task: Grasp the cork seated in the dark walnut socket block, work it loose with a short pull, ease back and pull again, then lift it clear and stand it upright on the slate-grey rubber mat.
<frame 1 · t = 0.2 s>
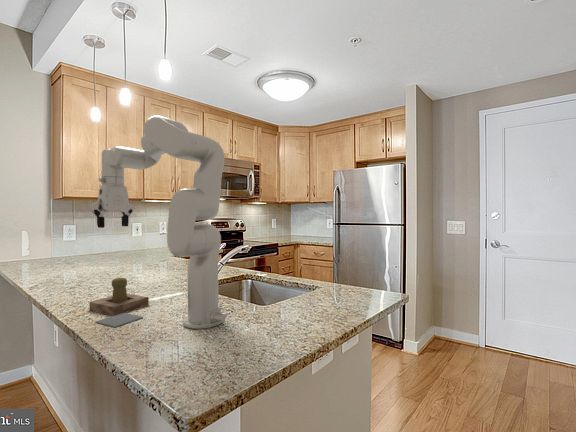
hand: (113, 226, 123), 30 cm above the countertop, tool pointing down, fingers open, 9 cm apart
socket block: (119, 307, 119), on the countertop
cork: (119, 308, 119), resting in socket block
rubber mat: (119, 320, 105), on the countertop
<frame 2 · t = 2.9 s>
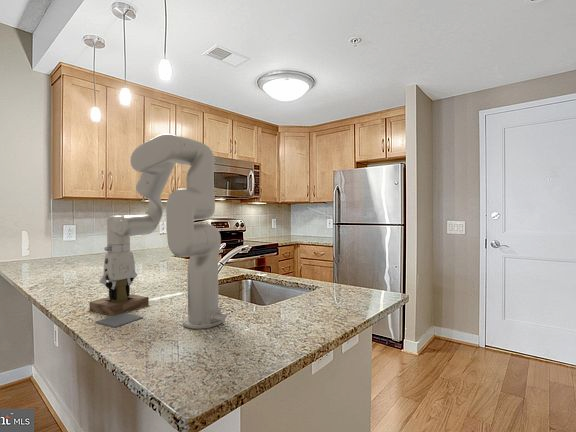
hand: (119, 297, 119), 4 cm above the countertop, tool pointing down, fingers closed on cork, 4 cm apart
cork: (119, 308, 119), resting in socket block, touching gripper
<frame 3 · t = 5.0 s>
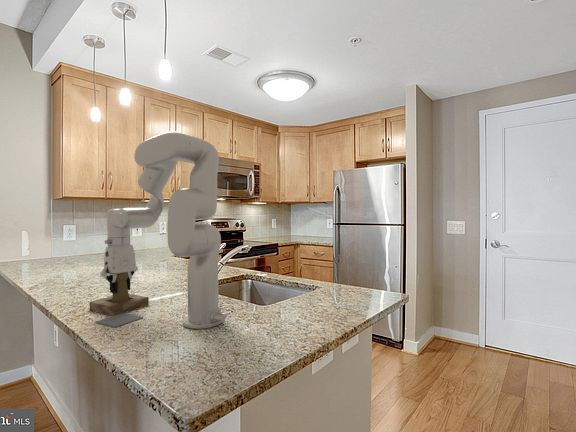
hand: (120, 290, 119), 6 cm above the countertop, tool pointing down, fingers closed on cork, 4 cm apart
cork: (120, 301, 119), point 2 cm above the countertop, touching gripper
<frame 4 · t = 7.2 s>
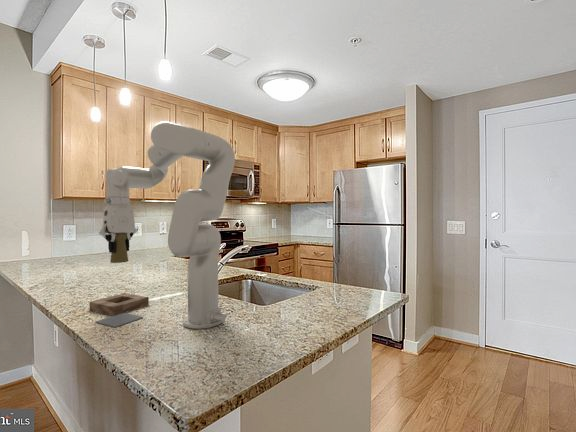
hand: (119, 251, 119), 21 cm above the countertop, tool pointing down, fingers closed on cork, 4 cm apart
cork: (119, 262, 119), point 17 cm above the countertop, touching gripper
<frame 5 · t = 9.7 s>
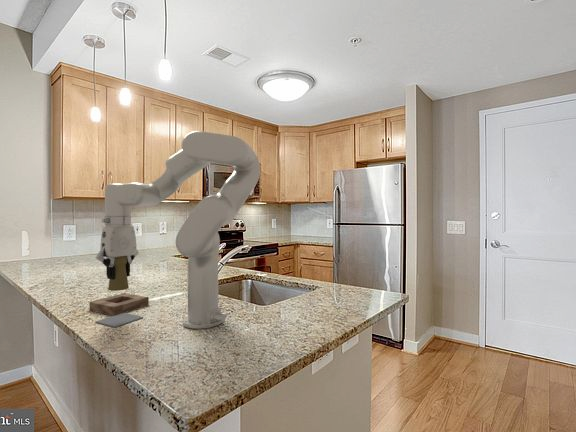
hand: (118, 276, 105), 14 cm above the countertop, tool pointing down, fingers closed on cork, 4 cm apart
cork: (118, 289, 105), point 10 cm above the countertop, touching gripper
when the fingers open (6 cm above the countertop, at t = 11.6 s): cork drops 1 cm, resting on rubber mat.
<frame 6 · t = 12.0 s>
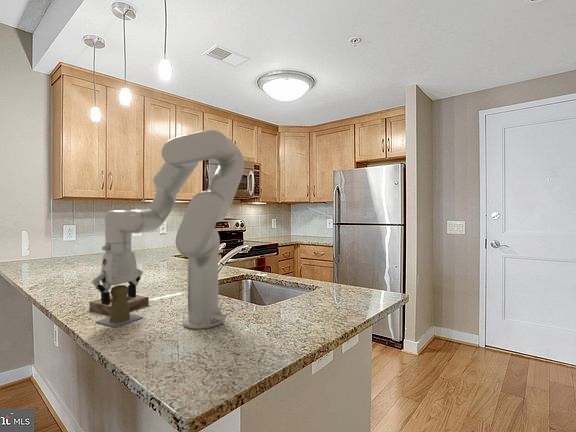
hand: (119, 300, 105), 7 cm above the countertop, tool pointing down, fingers open, 8 cm apart
cork: (119, 319, 105), resting on rubber mat
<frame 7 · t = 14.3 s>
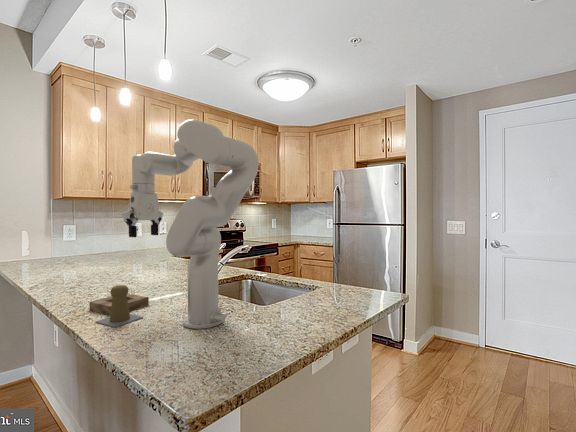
hand: (144, 236, 117), 27 cm above the countertop, tool pointing down, fingers open, 9 cm apart
nothing on the countertop moved.
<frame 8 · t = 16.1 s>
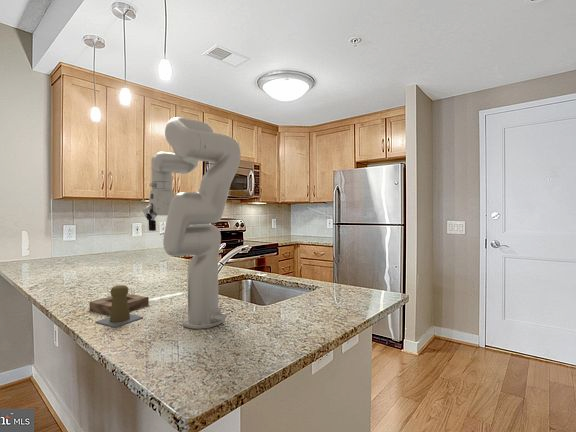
hand: (162, 229, 128), 28 cm above the countertop, tool pointing down, fingers open, 9 cm apart
nothing on the countertop moved.
at the end: cork inside the target area (0.2 cm from its centre), resting on rubber mat; cork tilted 0°; the gripper is holding nothing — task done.
